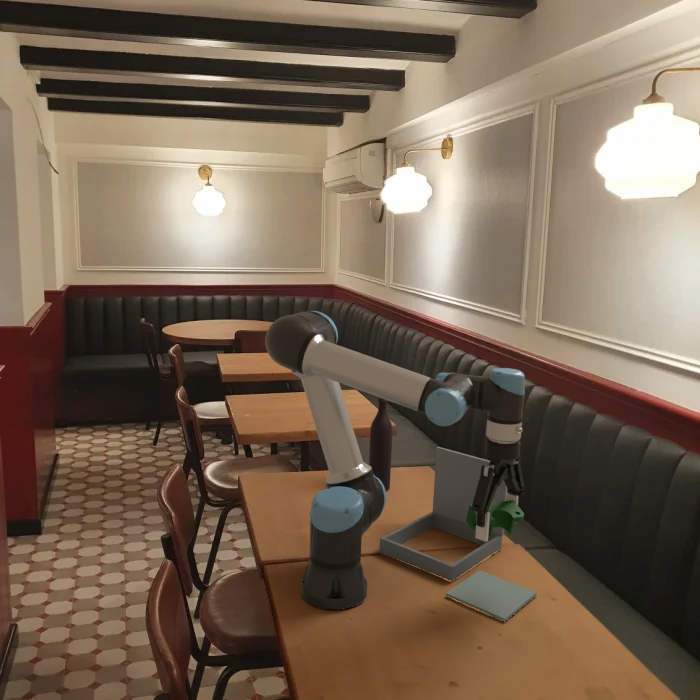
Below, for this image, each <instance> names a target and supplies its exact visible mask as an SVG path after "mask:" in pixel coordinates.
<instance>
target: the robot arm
mask: <svg viewBox="0 0 700 700" xmlns="http://www.w3.org/2000/svg"><path fill="white" fill-rule="evenodd" d="M337 328H338V327H337V326H336V324H335V323H334V320H332V318H331V317H329V316H328V315H327V314H325V313H323V312H321V311H318V310H305V311H300V312H297V313H293V314H290V315H289V314H288V315H285V316H284V315H283V316H281V317H279V318H278V319H275V321H273V322H272V323H271V325H270V326H269V328H268V329H267V331H266V334H265V339H264V340H265V343H264V344H265V348H266V351H267V354H268V355H269V356H270V358H271V359H272V360H273V362H275V363H276V364H278V365H279V366H280V367H283V368H285V369H288V370H290V371H291V373H292V374H293V375H295V376H296V377H298V378H300V381H301V383H302V387H303V390H304V393H305V397H306V400H307V404H308V407H309V409H310V413H311V416H312V420H313V423H314V426H315V429H316V432H317V433H316V434H317V436H318V439H319V442H320V445H321V446H320V447H321V449H322V452H323V456H324V459H325V463H326V465H327V469H328V472H329V473H328V474H327V477H326V478H325V483H326V487H327V488H324V489H321V490H320V491H318V492H317V493H316V494H315V495H314V497H312V500H311V505H310V510H309V527H310V528H309V559H308V563H307V565H306V568H305V572H304V574H303V577H302V578H301V583H300V595H301V597H302V598H303V600H304V601H305V602H306V603H307V604H309V605H310V604H311V605H310V606H312V605H313V606H312V607H315V608H318V607H319V609H321V608H324V609H323V610H326V609H343V608H349V607H352V606H355V605H357V604H358V603H360V602H362V601H363V600H364V599H365V598H366V599H367V597H366V596H368V582H367V579H366V577H365V575H364V570H363V565H362V562H361V561H362V560H361V559H362V541H363V540H362V538H363V535H365V533H366V532H367V531H368V530H369V528H370V527H371V526H372V524H373V523H374V522H376V521H377V520H378V519H379V518H380V516H381V515H382V514H383V510H384V509H385V507H386V503H387V491H385V488H384V485H383V483H382V482H381V481H380V479H379V478H377V477H375V475H374V474H373V471H372V468H371V466H370V465H369V463H368V464H367V463H366V462H364V459H363V456H362V453H361V450H360V447H359V443H358V440H357V437H356V434H355V431H354V427H353V424H352V421H351V417H350V413H349V411H348V408H347V404H346V400H345V398H344V394H343V391H342V386H341V385H344V386H348V387H351V388H353V389H356V390H358V391H361V392H363V393H367V394H370V395H372V396H375V397H378V398H379V397H380V398H383V399H385V400H387V402H390V403H394V404H396V405H400V406H402V407H404V408H407V409H410V410H412V411H416V412H418V413H422V414H424V415H425V416H426V417H427V419H428V420H429V421H431V422H432V423H433V424H434V425H436V426H440V427H448V426H451V425H454V424H455V423H457V422H458V421H460V420H461V419H462V418H463V416H464V415H465V413H466V412H468V410H475V411H476V410H477V411H483V412H484V411H486V412H487V417H486V419H487V420H486V431H485V436H486V438H485V447H484V454H485V455H486V456H487V457H488V459H489V461H490V463H489V466H484V465H483V466H482V467H481V474H480V479H479V482H478V486H477V489H476V493H475V496H474V500H473V503H472V507H471V510H473V511H476V512H477V520H476V535H475V538H477V539H480V540H483V541H485V542H487V541H488V532H489V519H490V512H488V510H489V507H490V505H491V502H492V500H493V497H494V495H495V492H496V490H497V487H498V486H500V485H501V483H502V481H503V480H504V482H505V484H506V486H507V494H506V501H511V500H514V502H515V503H516V504H517V505H518V506H519V498H520V497H522V496H524V490H525V482H524V477H523V471H522V466H521V465H522V464H521V461H522V460H521V459H522V457H521V456H522V455H521V441H520V439H521V438H522V433H523V432H524V431H523V427H522V426H523V416H524V415H523V414H524V404H525V394H526V391H525V389H526V387H525V385H526V376H525V374H524V372H522V371H521V370H519V369H515V368H511V367H510V368H508V367H495V368H493V369H491V370H490V374H489V376H488V375H487V376H481V375H471V374H466V373H464V374H462V373H457V372H439V373H437V375H436V377H435V379H434V378H432V377H429V376H427V375H424V374H421V373H419V372H415V371H412V370H409V369H406V368H404V367H401V366H398V365H396V364H393V363H389V362H387V361H384V360H380V359H379V358H375V357H373V356H369V355H367V354H363V353H362V352H358V351H356V350H353V349H350V348H347V347H345V346H342V345H338V344H337V343H338V340H339V333H338V329H337ZM340 384H341V385H340ZM519 496H520V497H519ZM514 524H517V522H515V523H514ZM366 599H365V600H366ZM365 600H364V601H365ZM364 601H363V602H364ZM363 602H362V603H363ZM357 606H358V605H357ZM355 607H356V606H355ZM349 609H350V608H349Z"/></svg>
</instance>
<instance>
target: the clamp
mask: <svg viewBox="0 0 700 700" xmlns="http://www.w3.org/2000/svg"><path fill="white" fill-rule="evenodd" d="M471 507H472V504H470V505H469V510H468V514H467V519H466V521H467V523H468V525H469V526H470V528H471V529H473V530H476V520H477V512H476V511H473V510H471ZM488 512H490V519H489V532H488V536H489V537H490V536H491V535H492V531H493V528H495V527H501V528H503V529H504V531H506V532H507V533H508V535H512V533H513V528H514V524H516V523H522V522H523V520H524V517H525V513H524V511H523V510H522V509H521V508H520V506H519V504H518V505H517V504H516V503H515V502H514V500H511V501H500V502H491V505H490V507H489V510H488ZM515 522H516V523H515Z"/></svg>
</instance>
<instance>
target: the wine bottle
mask: <svg viewBox="0 0 700 700" xmlns="http://www.w3.org/2000/svg"><path fill="white" fill-rule="evenodd" d="M377 403H378V409H377V413H376V415H375V417H374V418H373V420H372V422H371V425H370V432H369V454H368V455H369V456H368V465H370V466H371V468H372V471H373V474H374V475H375V477H377V478H379V479H380V481H381V482H382V483H383V485H384V488H385V491H386V492H388V491H389V490H390V488H391V468H392V452H393V451H392V448H393V425H392V421H391V420H390V417H389V415H388V413H387V412H388V411H387V404H388V400H385V399H383V398H380V397H378V400H377Z"/></svg>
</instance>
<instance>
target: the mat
mask: <svg viewBox="0 0 700 700" xmlns="http://www.w3.org/2000/svg"><path fill="white" fill-rule="evenodd" d="M446 595H447V596H449V597H451V598H454V599H456V600H458V601H461V602H462V603H465V604H467V605H469V606H471V607H474V608H476V609H479V610H480V611H483V612H485V613H487V614H489V615H491V616H493V617H496V618H498V619H500V620H503V621H506V620H507V619H509V618H510V617H511V616H512V615H513V614H515V613H516V612H517V611H518V610H520V609H521V608H522V607H523V606H524V605H526V604H527V603H528V602H529V601H530V600H531V599H533V598H534V597H535V596H536V597H537V592H536V591H533V590H530V589H528V588H527V587H523V586H520V585H518V584H516V583H513V582H510V581H507V580H506V579H503V578H501V577H498V576H496V575H492V574H490V573H487V572H485V571H483V570H477V571H476V572H475V573H473V574H472V575H470V576H469V577H468V578H466V579H464V580H463V581H462V582H460V583H458V584H457V585H455V586H454V587H453V588H451V589H449V590H448V591H447V592H445V596H446ZM536 597H535V598H536ZM535 598H534V599H535ZM534 599H533V600H534ZM529 603H530V602H529ZM529 603H528V604H529ZM528 604H527V605H528ZM527 605H526V606H527ZM523 608H524V607H523ZM523 608H522V609H523ZM522 609H521V610H522ZM521 610H520V611H521ZM517 613H518V612H517ZM517 613H516V614H517ZM516 614H515V615H516ZM511 618H512V617H511ZM511 618H510V619H511ZM510 619H509V620H510Z"/></svg>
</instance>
